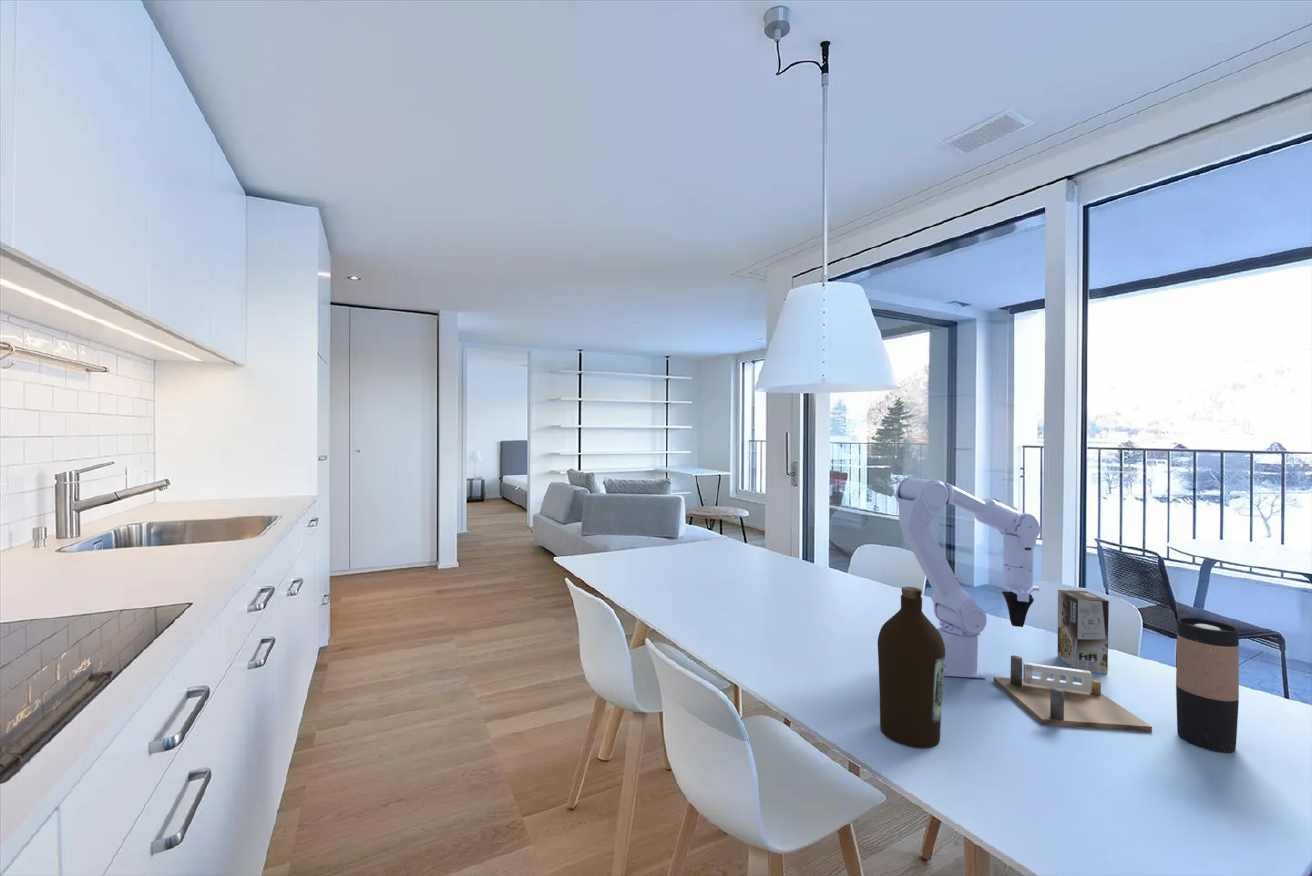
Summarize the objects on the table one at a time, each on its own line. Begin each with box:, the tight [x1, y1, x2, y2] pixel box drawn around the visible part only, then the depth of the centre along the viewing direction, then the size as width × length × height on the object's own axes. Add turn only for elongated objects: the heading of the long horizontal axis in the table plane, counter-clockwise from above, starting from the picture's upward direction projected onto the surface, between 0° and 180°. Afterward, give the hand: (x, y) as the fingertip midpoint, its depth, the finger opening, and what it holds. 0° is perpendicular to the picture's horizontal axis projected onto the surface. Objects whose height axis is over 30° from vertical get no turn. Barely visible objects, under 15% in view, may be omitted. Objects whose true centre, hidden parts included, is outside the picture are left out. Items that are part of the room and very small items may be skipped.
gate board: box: [993, 655, 1153, 733], centre depth 108 cm, size 18×18×6 cm
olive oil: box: [877, 586, 945, 749], centre depth 96 cm, size 11×11×25 cm
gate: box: [1022, 662, 1093, 693], centre depth 112 cm, size 11×1×4 cm, turn 69°
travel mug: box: [1175, 617, 1240, 754], centre depth 96 cm, size 8×8×20 cm
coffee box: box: [1057, 589, 1110, 675], centre depth 128 cm, size 9×6×16 cm
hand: (1017, 625), depth 126 cm, fingers closed
